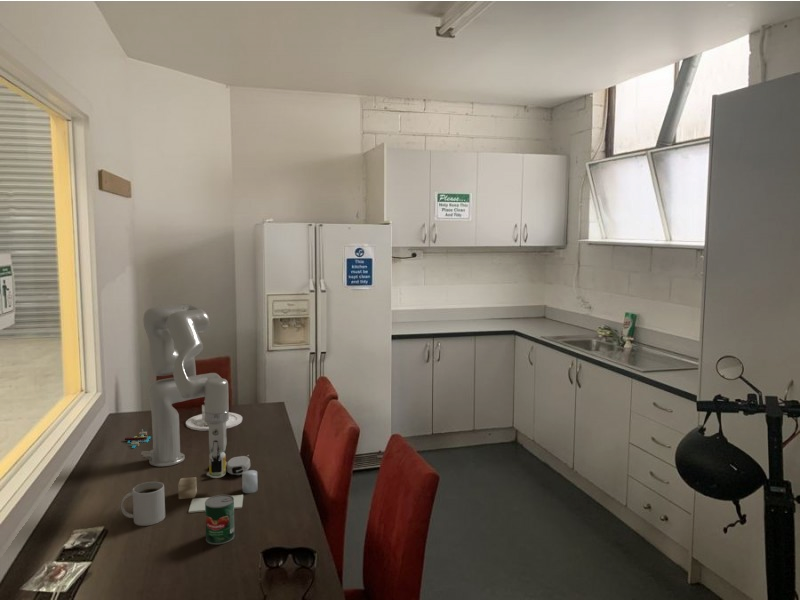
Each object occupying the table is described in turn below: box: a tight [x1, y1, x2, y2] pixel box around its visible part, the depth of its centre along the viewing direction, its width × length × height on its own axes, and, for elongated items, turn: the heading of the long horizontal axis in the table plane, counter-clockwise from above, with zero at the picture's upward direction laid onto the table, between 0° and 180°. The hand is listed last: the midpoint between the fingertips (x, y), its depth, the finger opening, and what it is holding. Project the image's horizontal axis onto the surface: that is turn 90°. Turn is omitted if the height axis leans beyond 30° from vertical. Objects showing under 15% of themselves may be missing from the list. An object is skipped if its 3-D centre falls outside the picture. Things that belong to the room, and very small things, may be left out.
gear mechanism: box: [124, 428, 152, 449], centre depth 247 cm, size 20×5×9 cm
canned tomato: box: [204, 494, 236, 545], centre depth 168 cm, size 8×8×11 cm
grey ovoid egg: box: [241, 469, 259, 494], centre depth 199 cm, size 5×5×6 cm
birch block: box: [177, 476, 198, 500], centre depth 195 cm, size 5×5×5 cm
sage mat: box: [188, 494, 244, 514], centre depth 189 cm, size 16×9×1 cm, turn 102°
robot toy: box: [206, 454, 252, 477], centre depth 214 cm, size 12×4×15 cm
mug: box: [120, 481, 166, 527], centre depth 178 cm, size 11×10×10 cm
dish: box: [185, 400, 243, 432], centre depth 272 cm, size 25×25×11 cm
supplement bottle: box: [208, 449, 227, 479], centre depth 197 cm, size 5×5×10 cm
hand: (217, 467), depth 197 cm, fingers closed on supplement bottle, 5 cm apart
